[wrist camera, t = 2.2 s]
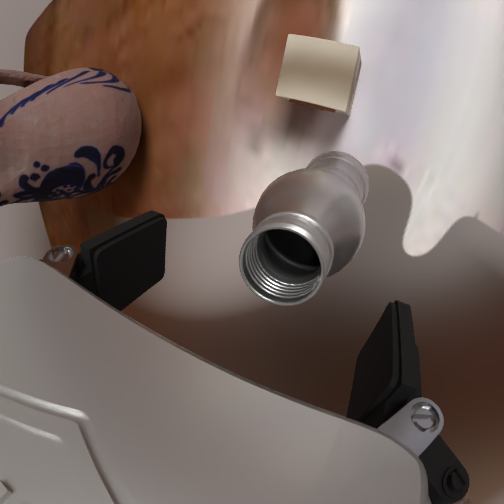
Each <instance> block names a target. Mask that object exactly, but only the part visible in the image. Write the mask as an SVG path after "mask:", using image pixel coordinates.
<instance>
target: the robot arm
mask: <svg viewBox="0 0 504 504" xmlns="http://www.w3.org/2000/svg"><path fill="white" fill-rule="evenodd" d="M166 228H167V221H166V219H165V217H164V215H163V214H161V213H158V212H155V211H149V212H146V213H144V214H142V215H140V216H137V217H135V218H133V219H131V220H129V221H127V222H124V223H122V224H120V225H118V226H116V227H114V228H112V229H110V230H108V231H105V232H104V233H101V234H99V235H97V236H95V237H93V238H91V239H89V240H87V241H85V242H83V243H81V244H80V246H81V253H80V254H78V251H77V249H76V248H75V247H74V246H71V245H59V246H55V247H53V248H51V249H50V250H48V251H47V253H46V254H45V256H44V257H43V259H42V260H37V259H34V258H30V257H22V256H15V257H11V258H9V259H7V260H5V261H3V262H1V263H0V504H472V502H471V500H470V498H468V499H466V498H465V495H466V493H467V491H468V488H469V476H468V473H467V471H466V470H465V468H464V467H463V465H462V464H461V463H460V461H459V460H458V459H457V457H456V456H455V455H454V454H453V452H452V451H451V450H450V448H449V447H448V446H447V445H446V443H445V442H444V441H443V440H442V438H441V437H440V436H439V433H440V431H441V429H442V428H443V415H442V413H441V410H440V409H439V408H438V406H437V405H436V404H435V403H434V402H432V401H431V400H429V399H426V398H422V396H421V378H420V363H419V353H418V347H417V345H416V344H415V338H414V330H413V322H412V315H411V308H410V305H408V304H405V303H403V302H400V301H397V300H396V301H395V302H394V303H391V302H390V303H389V304H388V305H387V307H386V309H385V311H384V313H383V315H382V316H381V318H380V320H379V322H378V323H377V325H376V327H375V328H374V330H373V332H372V333H371V335H370V337H369V338H368V340H367V342H366V343H365V345H364V346H363V348H362V350H361V351H360V353H359V355H358V358H357V362H356V368H355V374H354V380H353V386H352V391H351V397H350V402H349V407H348V412H347V416H346V417H344V416H342V415H339V414H336V413H333V412H330V411H327V410H325V409H322V408H319V407H316V406H313V405H311V404H308V403H305V402H303V401H300V400H298V399H295V398H292V397H290V396H287V395H285V394H282V393H280V392H277V391H275V390H272V389H270V388H267V387H265V386H263V385H260V384H258V383H256V382H253V381H251V380H249V379H247V378H244V377H242V376H240V375H238V374H236V373H233V372H231V371H229V370H227V369H225V368H223V367H221V366H219V365H216V364H214V363H212V362H210V361H208V360H206V359H204V358H202V357H200V356H198V355H196V354H194V353H193V352H191V351H189V350H187V349H185V348H183V347H181V346H179V345H177V344H175V343H173V342H172V341H170V340H168V339H166V338H164V337H163V336H161V335H159V334H157V333H156V332H154V331H152V330H151V329H149V328H147V327H145V326H144V325H142V324H140V323H139V322H137V321H135V320H134V319H132V318H130V317H129V316H127V315H125V314H124V313H122V312H121V310H123V309H124V308H125V307H126V306H128V305H129V304H130V303H132V302H133V301H134V300H135V299H137V298H138V297H139V296H141V295H142V294H143V293H144V292H146V291H147V290H148V289H149V288H151V287H152V286H153V285H155V284H156V283H157V282H159V281H160V280H161V279H162V278H163V276H164V273H165V246H166Z"/></svg>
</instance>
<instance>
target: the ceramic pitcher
mask: <svg viewBox="0 0 504 504" xmlns="http://www.w3.org/2000/svg"><path fill="white" fill-rule="evenodd" d="M0 84H8V85H16V86H21V87H24V88H23V89H21V90H19V91H17V92H15V93H13V94H11V95H10V96H8V97H6V98H4V99H3V100H0V206H3V205H7V204H12V203H27V202H42V201H53V200H61V199H71V198H77V197H81V196H85V195H89V194H92V193H94V192H97V191H99V190H101V189H103V188H105V187H106V186H108V185H110V184H111V183H112V182H114V181H115V180H116V179H117V178H118V177H119V176H120V175H121V174H122V173H123V172H124V171H125V170H126V168H127V167H128V166H129V164H130V162H131V161H132V159H133V158H134V155H135V153H136V151H137V148H138V145H139V141H140V135H141V125H142V121H141V113H140V110H139V105H138V103H137V99H136V98H135V96H134V94H133V92H132V91H131V89H130V88H129V87H127V86H126V85H125V83H123V82H122V81H121V80H120V79H118V78H117V77H115V76H114V75H112V74H111V73H109V72H106V71H104V70H101V69H96V68H77V69H72V70H68V71H64V72H61V73H58V74H55V75H52V76H47V77H46V76H42V75H36V74H31V73H26V72H21V71H16V70H4V69H0Z"/></svg>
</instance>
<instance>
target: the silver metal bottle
mask: <svg viewBox="0 0 504 504" xmlns="http://www.w3.org/2000/svg"><path fill="white" fill-rule="evenodd" d="M368 190H369V180H368V175H367V173H366V171H365V168H364V167H363V165H362V164H361V163H360V162H359V161H358V160H357V159H356V158H354V157H353V156H351V155H350V154H347V153H344V152H338V151H331V152H326V153H323V154H321V155H319V156H317V157H316V158H314V159H313V160H312V161H311V162H310V163H309V164H308V166H307V167H306V168H305V169H299V170H296V171H292V172H289V173H286V174H284V175H282V176H280V177H279V178H277V179H276V180H275V181H273V182H272V183H271V184H270V185H269V186H268V187H267V188H266V189H265V191H264V192H263V193H262V195H261V197H260V199H259V201H258V203H257V206H256V209H255V213H254V217H253V232H252V233H251V234H250V235H249V236H248V238H247V239H246V240H245V242H244V244H243V246H242V248H241V251H240V255H239V266H240V272H241V275H242V278H243V279H244V281H245V283H246V284H247V286H248V287H249V288H250V290H251V291H252V292H253V293H255V294H256V295H257V296H258V297H260V298H261V299H263V300H265V301H267V302H269V303H272V304H276V305H281V306H292V305H297V304H301V303H303V302H305V301H307V300H309V299H310V298H312V297H313V296H314V295H315V294H316V293H317V291H318V290H319V289H320V288H321V286H322V284H323V282H324V280H325V278H327V277H330V276H332V275H334V274H335V273H337V272H339V271H340V270H341V269H343V268H344V267H345V266H346V265H347V264H348V263H349V262H350V261H352V259H353V258H354V256H355V255H356V254H357V253H358V251H359V249H360V247H361V244H362V242H363V238H364V234H365V215H364V210H363V203H364V202H365V200H366V198H367V195H368Z"/></svg>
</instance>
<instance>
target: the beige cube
mask: <svg viewBox="0 0 504 504" xmlns="http://www.w3.org/2000/svg"><path fill="white" fill-rule="evenodd" d="M360 68H361V56H360V49H359V47H357V46H353V45H348V44H344V43H340V42H335V41H330V40H325V39H319V38H314V37H307V36H301V35H293V34H288V39H287V43H286V48H285V53H284V58H283V62H282V67H281V72H280V76H279V81H278V86H277V91H276V96H279V97H282V98H285V99H288V100H290V102H294V103H298V104H303V105H307V106H310V107H313V108H315V109H319V110H327V111H331V112H334V113H335V112H338V113H342V114H345V115H348V116H350V113H351V109H352V104H353V100H354V95H355V91H356V86H357V82H358V77H359V72H360Z"/></svg>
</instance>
